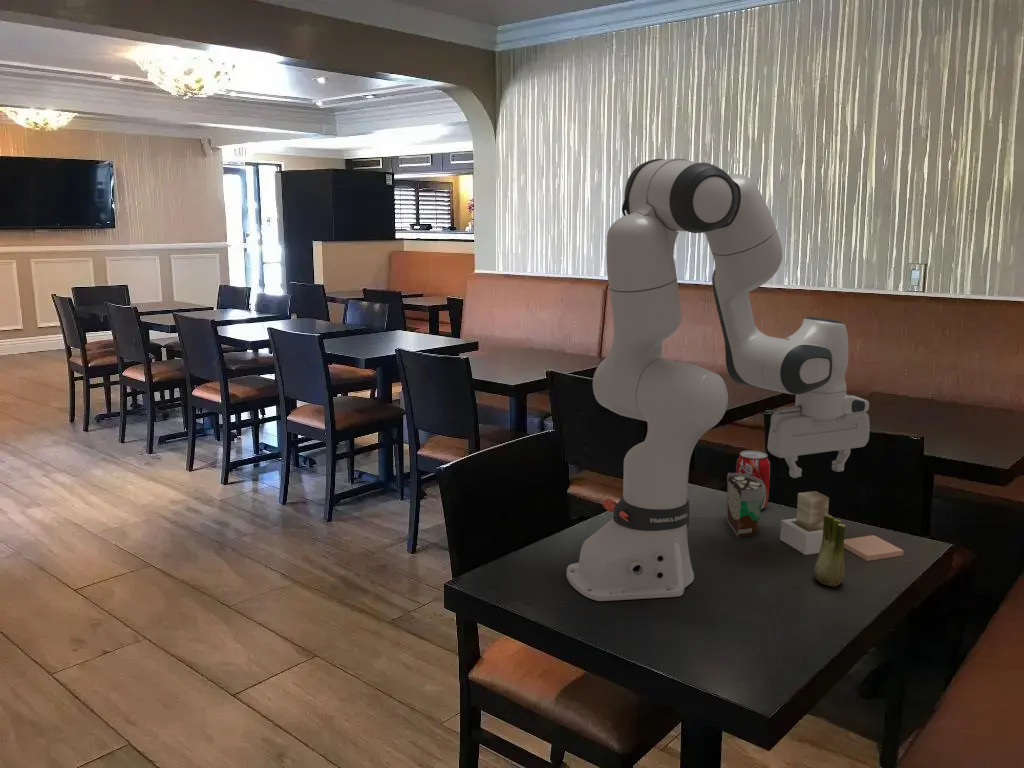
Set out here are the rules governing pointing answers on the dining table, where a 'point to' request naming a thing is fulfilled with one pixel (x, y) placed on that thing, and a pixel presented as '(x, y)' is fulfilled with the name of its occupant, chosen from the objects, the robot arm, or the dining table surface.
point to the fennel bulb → (831, 553)
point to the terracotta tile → (872, 548)
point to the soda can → (755, 469)
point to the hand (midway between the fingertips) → (816, 473)
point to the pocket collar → (800, 537)
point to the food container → (744, 503)
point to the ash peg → (811, 510)
